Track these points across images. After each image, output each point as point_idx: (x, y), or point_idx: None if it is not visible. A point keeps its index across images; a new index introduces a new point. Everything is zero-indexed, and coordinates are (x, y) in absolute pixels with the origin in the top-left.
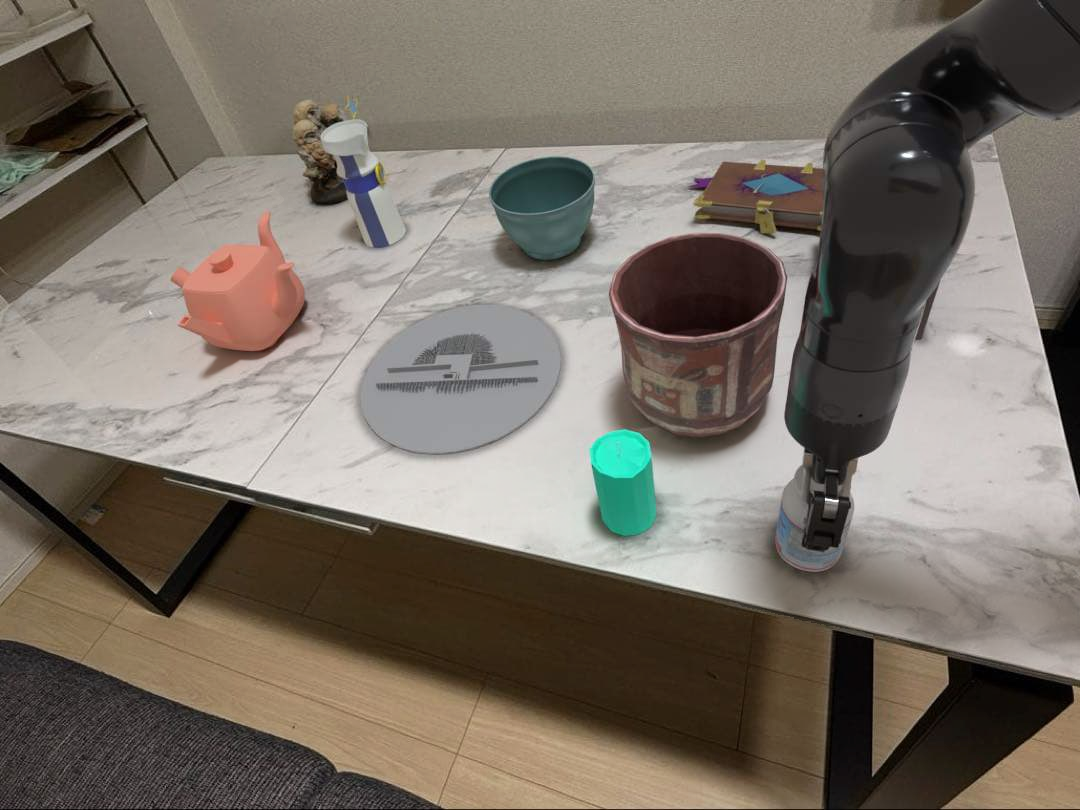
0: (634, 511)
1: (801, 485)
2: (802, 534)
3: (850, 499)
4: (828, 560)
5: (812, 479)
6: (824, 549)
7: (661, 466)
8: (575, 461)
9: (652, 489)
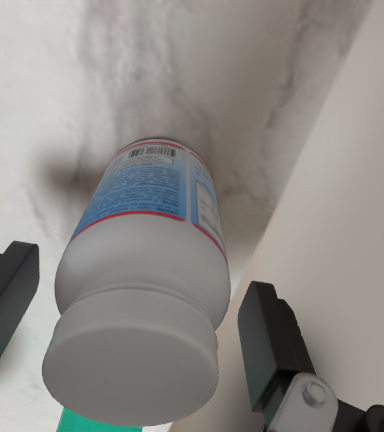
0: (137, 427)
1: (150, 419)
2: (241, 339)
3: (149, 249)
4: (214, 191)
5: (126, 400)
6: (295, 319)
7: (29, 347)
8: (41, 415)
9: (103, 427)
